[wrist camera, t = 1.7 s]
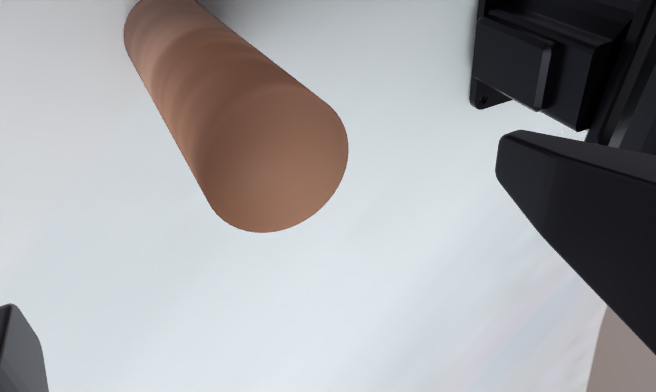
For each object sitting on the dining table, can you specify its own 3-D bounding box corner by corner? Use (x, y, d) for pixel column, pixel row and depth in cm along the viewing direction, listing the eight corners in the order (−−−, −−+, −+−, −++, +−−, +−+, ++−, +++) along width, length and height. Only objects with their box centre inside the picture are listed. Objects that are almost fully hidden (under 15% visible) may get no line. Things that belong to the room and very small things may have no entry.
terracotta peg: (202, -17, 17) (341, 72, 10) (222, 69, 19) (353, 202, 11) (110, 2, 16) (182, 118, 9) (139, 91, 18) (222, 253, 10)
